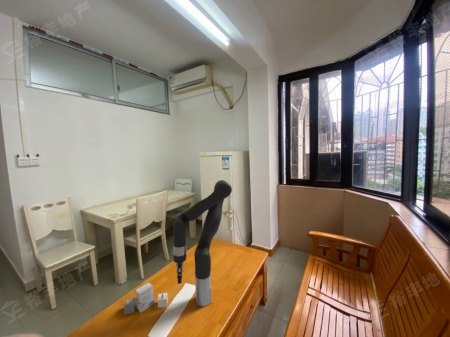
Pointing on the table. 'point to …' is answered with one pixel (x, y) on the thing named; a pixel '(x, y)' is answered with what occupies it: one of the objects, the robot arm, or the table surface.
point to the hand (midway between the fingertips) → (179, 278)
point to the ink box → (144, 297)
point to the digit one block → (162, 300)
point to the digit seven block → (130, 306)
